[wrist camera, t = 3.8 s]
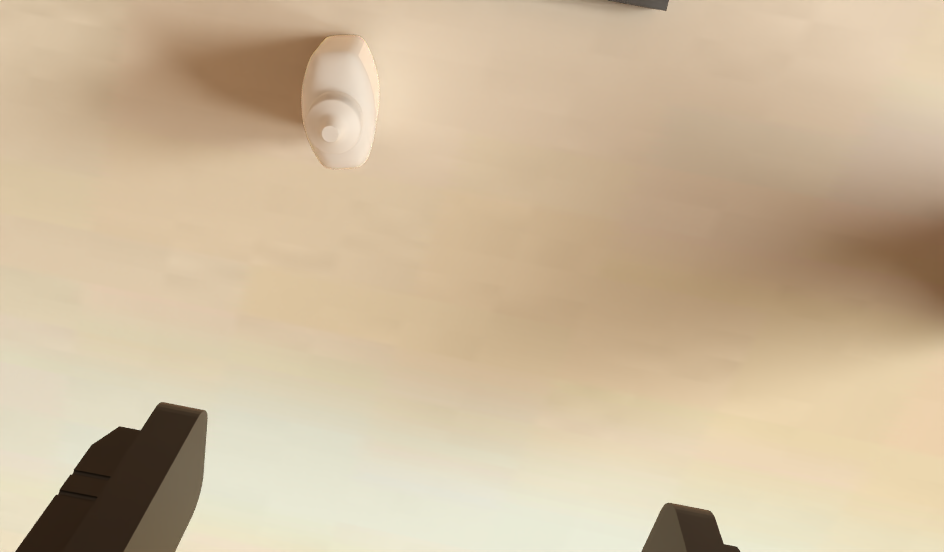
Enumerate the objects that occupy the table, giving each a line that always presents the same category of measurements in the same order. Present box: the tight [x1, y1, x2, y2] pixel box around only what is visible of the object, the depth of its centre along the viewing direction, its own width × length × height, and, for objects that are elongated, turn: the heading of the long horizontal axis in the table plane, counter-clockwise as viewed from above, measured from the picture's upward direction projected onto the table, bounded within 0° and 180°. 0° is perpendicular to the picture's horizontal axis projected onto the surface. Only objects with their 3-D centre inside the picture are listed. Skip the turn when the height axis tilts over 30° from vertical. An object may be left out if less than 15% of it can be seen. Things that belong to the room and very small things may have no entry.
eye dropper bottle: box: [301, 35, 379, 169], centre depth 37 cm, size 4×6×12 cm
